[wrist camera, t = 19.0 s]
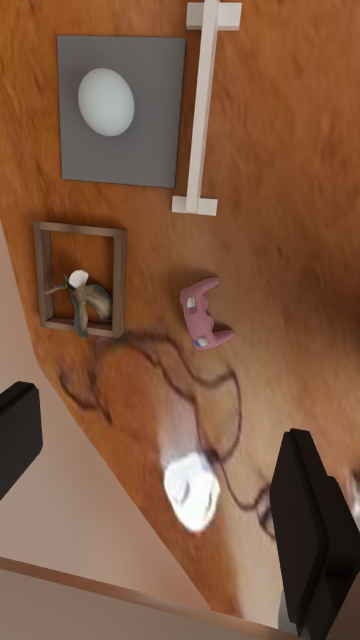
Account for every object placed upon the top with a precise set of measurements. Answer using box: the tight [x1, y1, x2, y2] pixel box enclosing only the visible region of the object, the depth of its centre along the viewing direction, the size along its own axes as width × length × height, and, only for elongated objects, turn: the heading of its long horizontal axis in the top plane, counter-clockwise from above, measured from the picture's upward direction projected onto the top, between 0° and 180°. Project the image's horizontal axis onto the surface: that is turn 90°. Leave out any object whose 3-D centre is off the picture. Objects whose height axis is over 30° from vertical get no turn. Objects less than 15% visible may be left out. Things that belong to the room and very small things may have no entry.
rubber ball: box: [78, 68, 134, 136], centre depth 34 cm, size 6×6×6 cm
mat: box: [57, 35, 186, 188], centre depth 37 cm, size 16×16×1 cm
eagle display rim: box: [33, 221, 127, 338], centre depth 44 cm, size 13×16×2 cm
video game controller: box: [180, 277, 235, 350], centre depth 41 cm, size 10×5×7 cm, turn 18°
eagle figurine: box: [44, 270, 113, 340], centre depth 43 cm, size 8×7×9 cm
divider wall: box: [172, 0, 242, 216], centre depth 34 cm, size 6×22×4 cm, turn 175°
